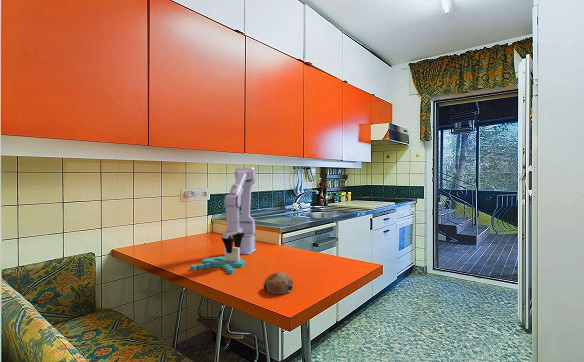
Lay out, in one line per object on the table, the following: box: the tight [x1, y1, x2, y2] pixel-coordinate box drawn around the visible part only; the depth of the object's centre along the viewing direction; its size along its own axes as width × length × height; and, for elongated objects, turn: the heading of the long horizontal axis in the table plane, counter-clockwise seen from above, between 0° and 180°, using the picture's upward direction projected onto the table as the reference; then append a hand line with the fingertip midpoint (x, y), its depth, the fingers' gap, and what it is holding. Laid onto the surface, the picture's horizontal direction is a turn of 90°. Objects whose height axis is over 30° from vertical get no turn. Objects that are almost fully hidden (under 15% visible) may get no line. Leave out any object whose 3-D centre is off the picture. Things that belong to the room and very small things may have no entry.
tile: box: [223, 246, 241, 262], centre depth 145 cm, size 2×7×6 cm, turn 71°
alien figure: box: [189, 255, 247, 275], centre depth 144 cm, size 20×2×20 cm
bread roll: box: [262, 271, 294, 295], centre depth 114 cm, size 10×10×8 cm
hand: (233, 250), depth 145 cm, fingers open, 7 cm apart
